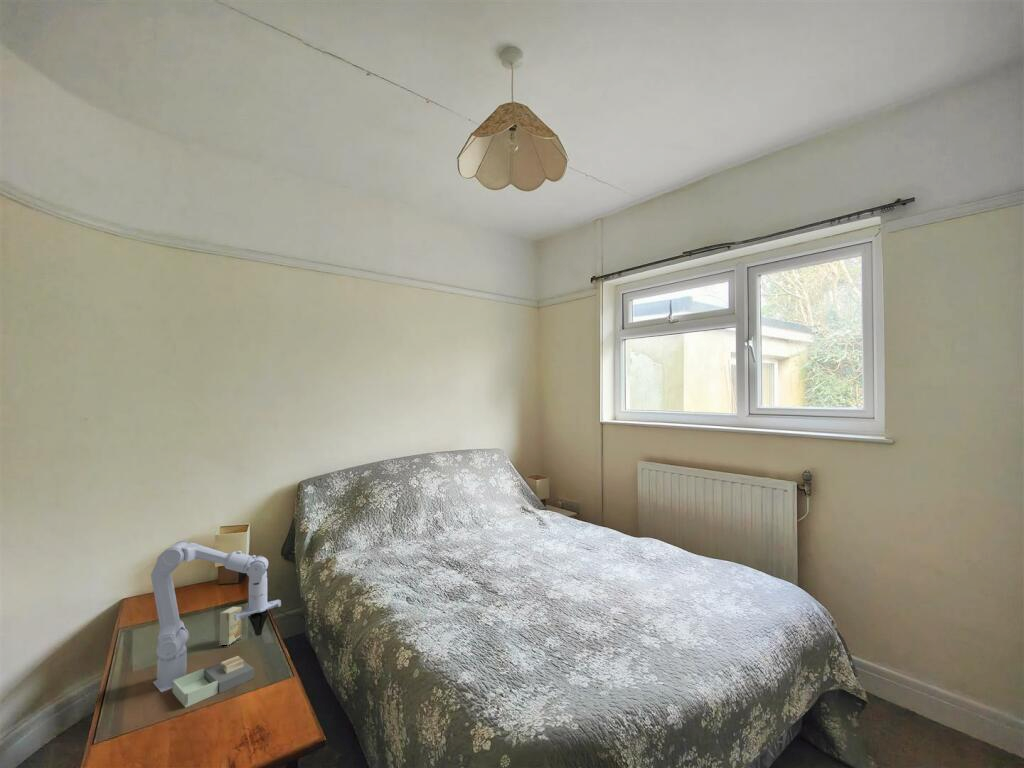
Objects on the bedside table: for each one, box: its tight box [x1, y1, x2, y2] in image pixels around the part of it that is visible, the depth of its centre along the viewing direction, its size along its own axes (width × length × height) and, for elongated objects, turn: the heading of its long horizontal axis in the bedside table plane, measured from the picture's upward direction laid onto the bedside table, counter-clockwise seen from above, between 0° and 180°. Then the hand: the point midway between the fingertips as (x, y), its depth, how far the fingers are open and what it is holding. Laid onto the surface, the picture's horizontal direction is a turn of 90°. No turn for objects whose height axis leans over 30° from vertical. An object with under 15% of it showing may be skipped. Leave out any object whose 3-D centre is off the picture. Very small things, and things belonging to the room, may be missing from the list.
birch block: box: [220, 655, 245, 673], centre depth 148 cm, size 5×5×2 cm
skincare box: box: [219, 606, 242, 645], centre depth 173 cm, size 6×4×12 cm
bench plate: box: [204, 660, 255, 694], centre depth 148 cm, size 14×10×3 cm
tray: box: [171, 667, 219, 708], centre depth 140 cm, size 13×8×4 cm, turn 51°
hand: (258, 634), depth 155 cm, fingers closed
